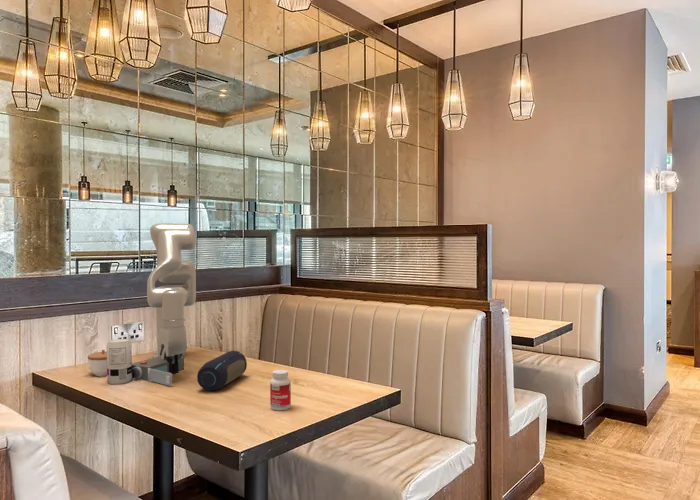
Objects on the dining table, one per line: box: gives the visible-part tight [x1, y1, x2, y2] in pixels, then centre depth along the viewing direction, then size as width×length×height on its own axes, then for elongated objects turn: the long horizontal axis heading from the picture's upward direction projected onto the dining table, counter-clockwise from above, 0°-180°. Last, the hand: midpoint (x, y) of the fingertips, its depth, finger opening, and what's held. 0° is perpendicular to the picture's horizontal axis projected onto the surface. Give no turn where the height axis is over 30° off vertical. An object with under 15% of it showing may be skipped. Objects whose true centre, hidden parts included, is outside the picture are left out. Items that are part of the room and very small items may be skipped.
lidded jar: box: [87, 349, 107, 377], centre depth 198 cm, size 11×11×9 cm
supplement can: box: [106, 338, 133, 385], centre depth 187 cm, size 8×8×15 cm
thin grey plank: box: [149, 369, 173, 387], centre depth 183 cm, size 12×1×4 cm, turn 55°
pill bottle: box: [269, 369, 292, 411], centre depth 156 cm, size 6×6×11 cm
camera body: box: [131, 356, 185, 382], centre depth 197 cm, size 19×12×6 cm, turn 154°
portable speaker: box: [196, 350, 248, 392], centre depth 184 cm, size 25×10×10 cm, turn 169°
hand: (173, 373), depth 188 cm, fingers closed
